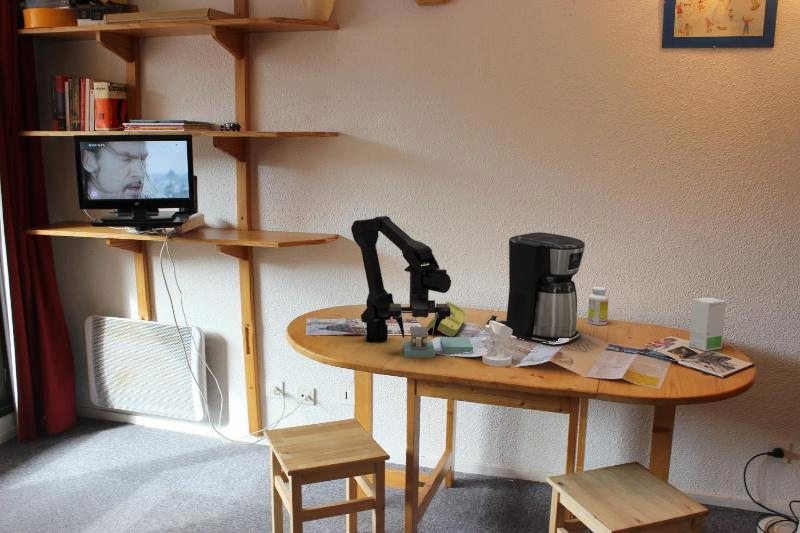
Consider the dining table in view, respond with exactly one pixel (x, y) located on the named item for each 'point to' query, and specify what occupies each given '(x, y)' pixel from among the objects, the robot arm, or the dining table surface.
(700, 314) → the skincare box
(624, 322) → the dining table surface
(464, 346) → the stand right
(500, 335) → the character figurine
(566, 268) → the coffee maker
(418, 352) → the stand left
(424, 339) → the housing
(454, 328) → the plastic component
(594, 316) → the supplement bottle
